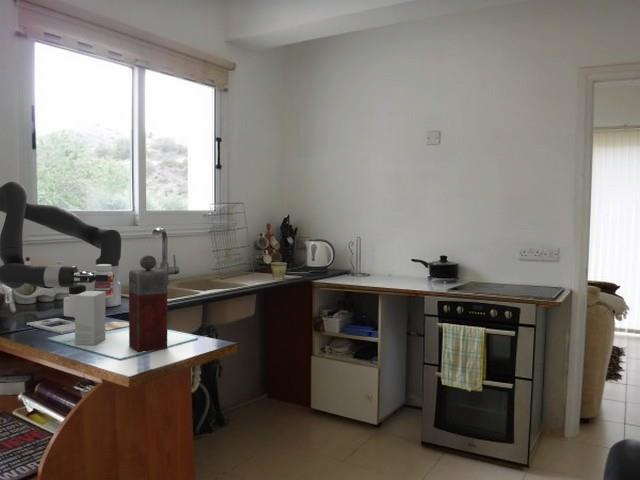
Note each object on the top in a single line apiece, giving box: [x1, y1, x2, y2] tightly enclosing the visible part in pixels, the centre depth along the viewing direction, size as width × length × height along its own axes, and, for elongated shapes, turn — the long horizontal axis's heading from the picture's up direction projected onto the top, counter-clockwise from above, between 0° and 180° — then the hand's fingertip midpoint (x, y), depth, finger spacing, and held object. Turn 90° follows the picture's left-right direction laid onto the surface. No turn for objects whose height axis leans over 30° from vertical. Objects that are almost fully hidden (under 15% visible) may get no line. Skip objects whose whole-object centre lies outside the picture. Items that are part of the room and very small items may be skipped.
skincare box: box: [74, 290, 106, 346], centre depth 162 cm, size 8×7×16 cm
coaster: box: [105, 320, 129, 332], centre depth 185 cm, size 10×10×1 cm
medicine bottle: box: [63, 283, 87, 319], centre depth 202 cm, size 7×7×12 cm
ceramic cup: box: [270, 261, 288, 280], centre depth 323 cm, size 13×10×10 cm
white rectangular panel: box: [26, 317, 75, 335], centre depth 183 cm, size 11×22×1 cm, turn 57°
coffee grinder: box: [128, 254, 168, 353], centre depth 158 cm, size 9×11×28 cm
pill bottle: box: [93, 264, 113, 298], centre depth 184 cm, size 6×6×11 cm
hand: (110, 277), depth 184 cm, fingers closed on pill bottle, 6 cm apart
